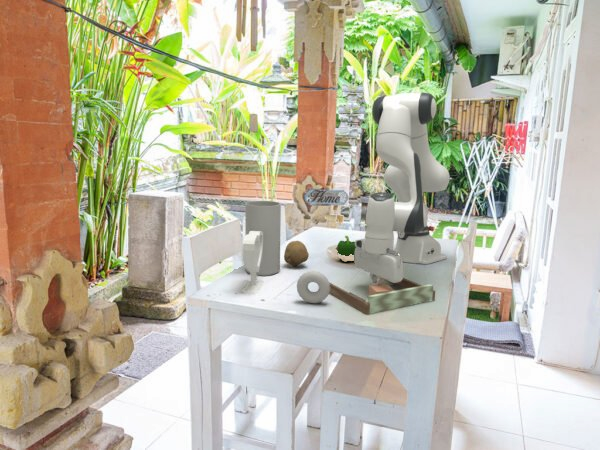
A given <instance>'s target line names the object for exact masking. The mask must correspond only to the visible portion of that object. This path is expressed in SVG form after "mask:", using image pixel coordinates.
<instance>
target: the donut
mask: <svg viewBox="0 0 600 450" xmlns="http://www.w3.org/2000/svg"><path fill="white" fill-rule="evenodd" d="M329 282H330V281H329V279H328V278H327V276H326V275H325V274H323V273H322V272H320V271H318V270H317V271H316V270H308V271H306V272H304V273H303V274H301V275H300V276H299V278H298V280H297V283H296V290H297V293H298V296H299V297H300V299H302V300H303V301H305V303H309V304H319V303H322V302H324V301H325V300H326V299H327V297H328V296H329V291H330V284H329ZM311 283H315V284H316V285H317V286H318V288H317V291H311V290H310V289H309V284H311Z"/></svg>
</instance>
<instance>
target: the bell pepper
mask: <svg viewBox="0 0 600 450" xmlns="http://www.w3.org/2000/svg"><path fill="white" fill-rule="evenodd" d="M344 238H345V239H346V240H340V241H339V242H338V243H337V246H336V249H337V250H336V252H337V251H338V252H337V254H338V253H339V254H341V255H345V256H349V255H350V254H352V255H354V254H355V248H356V246H355V241H351V240H350V237H349V236H348V235H345V236H344Z"/></svg>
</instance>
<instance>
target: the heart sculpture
mask: <svg viewBox="0 0 600 450" xmlns="http://www.w3.org/2000/svg"><path fill="white" fill-rule="evenodd" d="M262 252H263V232H262V231H250V232H249V234H247V235H246V234H245V236H244V239H243V242H242V261H243V265H244V267H245V270H246V269H247V270H248V272H250V273H249V275H250V280H249V282H248V283H247V284H246V285H245V287H244V289H243V290H242V291H243V292H242V293H244V294H247V295H252V294H254V295H255V294H258V293H259V291H260V290H261V288H262V287H263V284H264V283H265V281H263V280H257V279H258V277H257V276H258V275H257V272H259V269H260V264H261V259H262ZM248 272H247V273H248Z"/></svg>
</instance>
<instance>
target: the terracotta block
mask: <svg viewBox="0 0 600 450" xmlns="http://www.w3.org/2000/svg"><path fill="white" fill-rule="evenodd" d="M391 291H395V290H394V289H392V288H391V287H390V286H389V284H384V283H383V284H382V285H372V284H371V285H368V296H370V295H375V294H380V293H386V292H391Z"/></svg>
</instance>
